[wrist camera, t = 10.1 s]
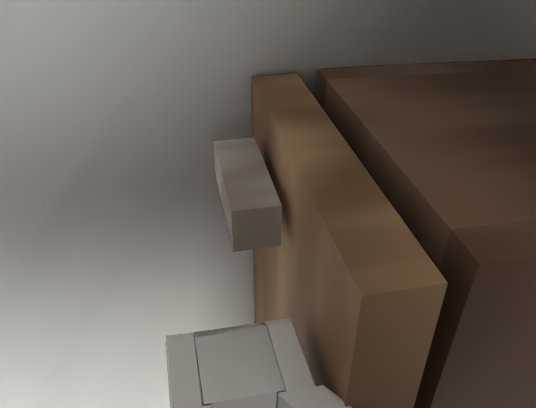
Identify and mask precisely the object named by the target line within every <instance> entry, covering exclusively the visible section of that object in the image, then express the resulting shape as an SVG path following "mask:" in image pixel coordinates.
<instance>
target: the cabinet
mask: <svg viewBox="0 0 536 408" xmlns="http://www.w3.org/2000/svg"><path fill="white" fill-rule="evenodd" d="M315 99H316V100H317V102H318V103H319V104H320V106H321V107H322V108H323V110H324V111H325V113H326V114H327V115H328V117H329V118H330V120H331V121H332V122H333V124H334V125H335V127H336V128H337V129H338V131H339V132H340V134H341V135H342V136H343V138H344V139H345V140H346V142H347V143H348V145H349V146H350V147H351V149H352V150H353V152H354V153H355V154H356V156H357V157H358V159H359V160H360V161H361V163H362V164H363V166H364V167H365V168H366V170H367V171H368V173H369V174H370V175H371V177H372V178H373V179H374V181H375V182H376V184H377V185H378V186H379V188H380V189H381V191H382V192H383V193H384V195H385V196H386V198H387V199H388V200H389V202H390V203H391V205H392V206H393V207H394V209H395V210H396V211H397V213H398V214H399V216H400V217H401V218H402V220H403V221H404V223H405V224H406V225H407V227H408V228H409V230H410V231H411V232H412V234H413V235H414V237H415V238H416V239H417V241H418V242H419V244H420V245H421V246H422V248H423V249H424V250H425V252H426V253H427V255H428V256H429V257H430V259H431V260H432V262H433V263H434V264H435V266H436V267H437V269H438V270H439V271H440V273H441V274H442V276H443V277H444V278H445V280H446V281H447V283H448V284H447V288H446V292H445V295H444V299H443V302H442V306H441V310H440V313H439V317H438V321H437V324H436V328H435V331H434V335H433V339H432V342H431V346H430V350H429V353H428V357H427V360H426V364H425V368H424V371H423V375H422V379H421V382H420V386H419V389H418V393H417V397H416V400H415V404H414V408H536V59H520V60H498V61H476V62H454V63H432V64H410V65H388V66H366V67H344V68H322V69H318V72H317V84H316V96H315Z"/></svg>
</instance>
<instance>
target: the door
mask: <svg viewBox="0 0 536 408" xmlns="http://www.w3.org/2000/svg"><path fill="white" fill-rule="evenodd" d="M252 134H253V137H249V138H238V139H227V140H216V141H213V144H214V160H215V175H216V180H217V185H218V189H219V193H220V198H221V202H222V206H223V210H224V215H225V219H226V223H227V227H228V232H229V236H230V240H231V245H232V249H233V252H234V251H242V250H249V249H254V272H255V323H260V322H267V321H274V320H280V319H287V318H290V319H291V320H292V321H293V324H294V327H295V329H296V332H297V335H298V338H299V340H300V343H301V346H302V349H303V352H304V354H305V357H306V360H307V363H308V365H309V368H310V371H311V374H312V376H313V379H314V382H315V385H316V386H320V385H324V386H325V387H327V388H328V389H329V390H331V391H332V392H333V393H334V394H336V395H337V396H338V397H339V398H341V399H342V400H343V402H344V404H345V406H351V407H352V408H414V404H415V400H416V397H417V393H418V389H419V386H420V382H421V379H422V375H423V371H424V368H425V364H426V360H427V357H428V353H429V350H430V346H431V342H432V339H433V335H434V331H435V328H436V324H437V321H438V317H439V313H440V310H441V306H442V302H443V299H444V295H445V292H446V288H447V284H448V283H447V281H446V280H445V278H444V277H443V276H442V274H441V273H440V271H439V270H438V269H437V267H436V266H435V264H434V263H433V262H432V260H431V259H430V257H429V256H428V255H427V253H426V252H425V250H424V249H423V248H422V246H421V245H420V244H419V242H418V241H417V239H416V238H415V237H414V235H413V234H412V232H411V231H410V230H409V228H408V227H407V225H406V224H405V223H404V221H403V220H402V218H401V217H400V216H399V214H398V213H397V211H396V210H395V209H394V207H393V206H392V205H391V203H390V202H389V200H388V199H387V198H386V196H385V195H384V193H383V192H382V191H381V189H380V188H379V186H378V185H377V184H376V182H375V181H374V179H373V178H372V177H371V175H370V174H369V173H368V171H367V170H366V168H365V167H364V166H363V164H362V163H361V161H360V160H359V159H358V157H357V156H356V154H355V153H354V152H353V150H352V149H351V147H350V146H349V145H348V143H347V142H346V140H345V139H344V138H343V136H342V135H341V134H340V132H339V131H338V129H337V128H336V127H335V125H334V124H333V122H332V121H331V120H330V118H329V117H328V115H327V114H326V113H325V111H324V110H323V108H322V107H321V106H320V104H319V103H318V102H317V100H316V99H315V97H314V96H313V95H312V93H311V92H310V90H309V89H308V88H307V86H306V85H305V83H304V82H303V81H302V79H301V78H300V76H299V75H298V74H297V73H295V74H281V75H267V76H252Z"/></svg>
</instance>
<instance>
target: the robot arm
mask: <svg viewBox="0 0 536 408" xmlns="http://www.w3.org/2000/svg"><path fill="white" fill-rule="evenodd" d="M166 355H167V369H168V382H169V396H170V408H352V407H351V406H345V404H344V402H343V400H342V399H341V398H339V397H338V396H337V395H336V394H334V393H333V392H332V391H331V390H329V389H328V388H327V387H325V386H324V385H320V386H316V385H315V382H314V379H313V376H312V374H311V371H310V368H309V365H308V363H307V360H306V357H305V354H304V352H303V349H302V346H301V343H300V340H299V338H298V335H297V332H296V329H295V327H294V324H293V321H292V320H291V319H290V318H287V319H280V320H274V321H267V322H260V323H253V324H247V325H241V326H234V327H228V328H222V329H215V330H206V331H198V332H194V334H193V333H185V334H177V335H169V336H166Z"/></svg>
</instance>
